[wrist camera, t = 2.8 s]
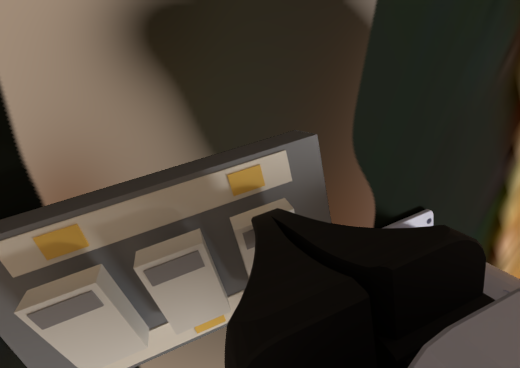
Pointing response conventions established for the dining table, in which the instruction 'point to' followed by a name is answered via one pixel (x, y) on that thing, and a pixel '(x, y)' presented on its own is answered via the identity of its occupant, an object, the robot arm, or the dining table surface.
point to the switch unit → (154, 234)
